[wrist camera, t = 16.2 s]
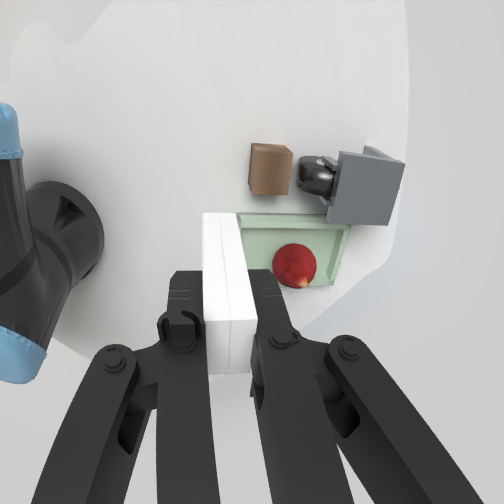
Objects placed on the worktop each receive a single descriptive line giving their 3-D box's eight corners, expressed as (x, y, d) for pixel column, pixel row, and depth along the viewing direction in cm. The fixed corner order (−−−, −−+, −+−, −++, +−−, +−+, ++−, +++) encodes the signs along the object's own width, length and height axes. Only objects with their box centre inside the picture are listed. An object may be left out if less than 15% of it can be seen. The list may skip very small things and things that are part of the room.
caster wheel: (287, 194, 38) (304, 222, 32) (296, 134, 34) (317, 150, 27) (361, 199, 40) (387, 225, 34) (374, 145, 35) (405, 164, 29)
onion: (279, 273, 44) (292, 311, 38) (259, 246, 41) (270, 284, 35) (313, 252, 43) (332, 288, 36) (296, 224, 40) (314, 259, 33)
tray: (229, 277, 44) (230, 288, 42) (233, 212, 38) (235, 221, 36) (327, 275, 47) (333, 285, 45) (344, 215, 41) (351, 224, 39)
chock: (248, 181, 36) (252, 194, 33) (251, 142, 34) (256, 151, 30) (279, 183, 37) (287, 195, 34) (284, 145, 34) (293, 153, 31)
